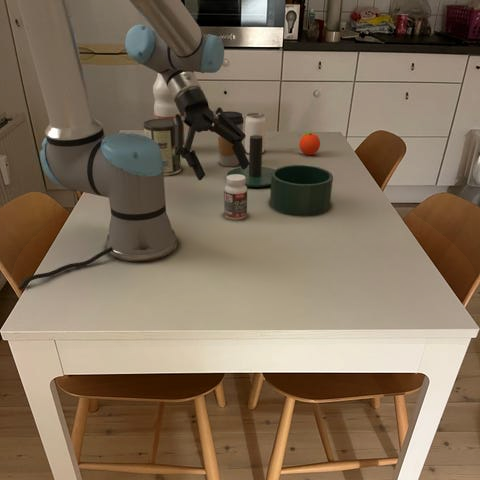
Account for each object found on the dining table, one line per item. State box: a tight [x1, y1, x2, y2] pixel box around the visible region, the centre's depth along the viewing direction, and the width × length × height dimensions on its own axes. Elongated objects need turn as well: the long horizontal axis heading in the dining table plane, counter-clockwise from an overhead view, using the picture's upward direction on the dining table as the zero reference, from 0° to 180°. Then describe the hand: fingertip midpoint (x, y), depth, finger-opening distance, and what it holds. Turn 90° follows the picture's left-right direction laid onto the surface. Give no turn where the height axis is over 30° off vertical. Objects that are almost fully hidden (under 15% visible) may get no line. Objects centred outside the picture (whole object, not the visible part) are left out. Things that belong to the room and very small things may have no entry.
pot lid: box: [226, 135, 276, 188], centre depth 148 cm, size 17×17×12 cm
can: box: [244, 112, 266, 155], centre depth 170 cm, size 6×6×12 cm
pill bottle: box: [223, 174, 248, 221], centre depth 126 cm, size 6×6×10 cm
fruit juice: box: [152, 72, 186, 147], centre depth 166 cm, size 9×9×28 cm
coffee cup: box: [217, 110, 245, 167], centre depth 159 cm, size 8×8×15 cm
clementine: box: [298, 132, 321, 156], centre depth 170 cm, size 8×7×7 cm
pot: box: [269, 164, 334, 217], centre depth 134 cm, size 16×16×8 cm
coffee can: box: [142, 118, 182, 177], centre depth 153 cm, size 10×10×14 cm
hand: (224, 172), depth 127 cm, fingers open, 13 cm apart
